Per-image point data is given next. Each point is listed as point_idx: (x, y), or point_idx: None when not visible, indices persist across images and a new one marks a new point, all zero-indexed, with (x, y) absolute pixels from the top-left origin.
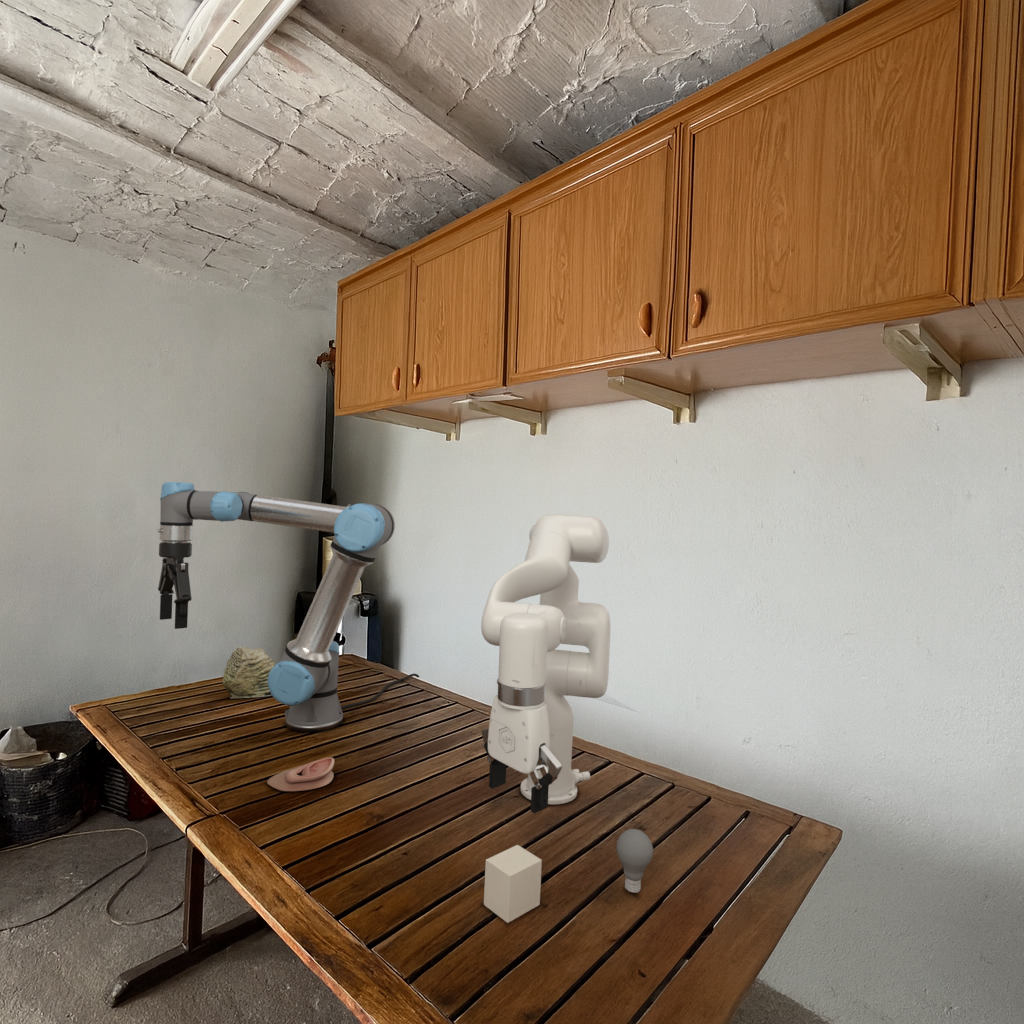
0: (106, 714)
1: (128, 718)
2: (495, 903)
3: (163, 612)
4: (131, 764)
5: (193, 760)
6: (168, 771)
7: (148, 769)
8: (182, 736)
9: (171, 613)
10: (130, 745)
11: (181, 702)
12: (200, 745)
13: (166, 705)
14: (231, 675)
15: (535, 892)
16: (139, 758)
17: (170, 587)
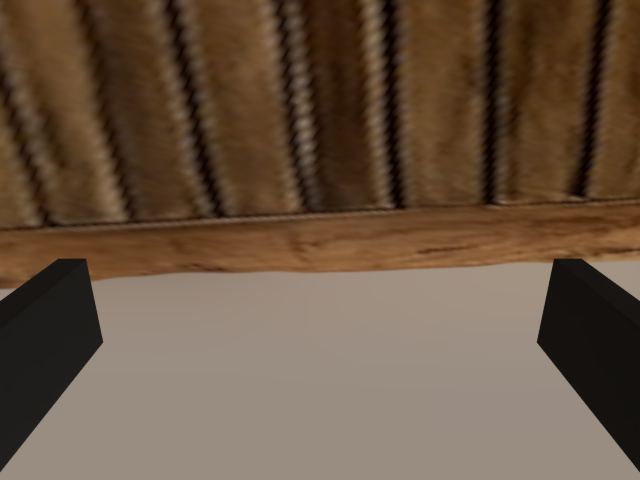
0: (66, 243)
1: (130, 204)
2: None
3: (63, 362)
4: (474, 265)
5: (556, 147)
6: (575, 212)
7: (530, 243)
8: (367, 120)
9: (58, 285)
10: (351, 242)
11: (27, 25)
12: (469, 99)
13: (43, 80)
14: None
15: None
16: (450, 244)
17: None
